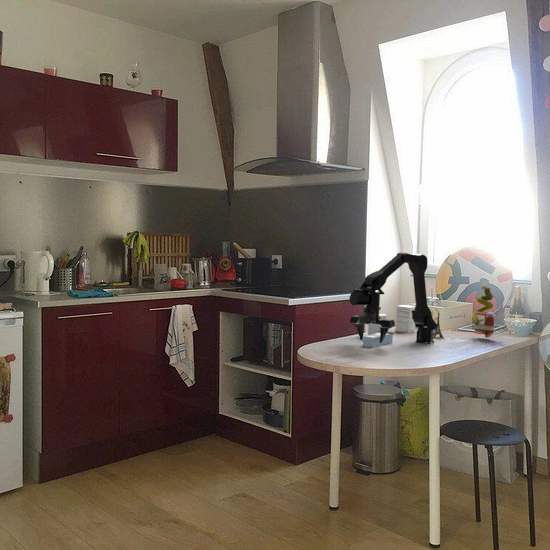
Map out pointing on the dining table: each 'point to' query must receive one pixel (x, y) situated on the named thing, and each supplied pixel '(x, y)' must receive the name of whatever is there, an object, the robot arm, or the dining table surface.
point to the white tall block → (405, 319)
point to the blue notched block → (387, 338)
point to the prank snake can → (484, 314)
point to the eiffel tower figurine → (438, 332)
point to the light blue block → (371, 341)
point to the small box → (375, 325)
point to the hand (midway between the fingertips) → (371, 341)
